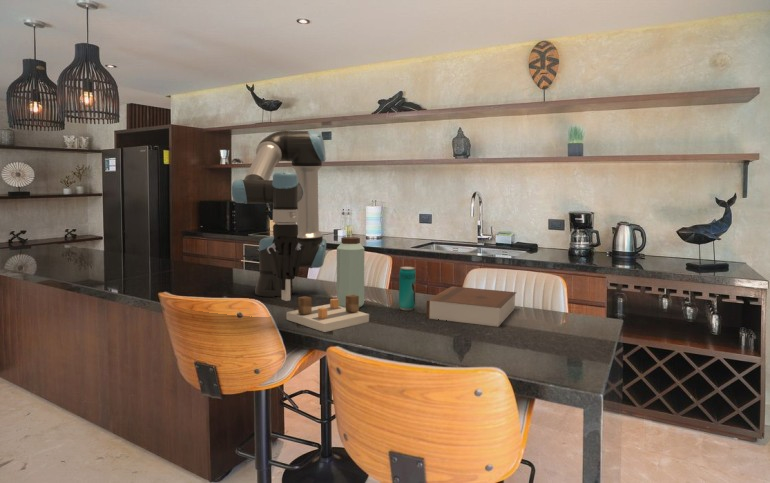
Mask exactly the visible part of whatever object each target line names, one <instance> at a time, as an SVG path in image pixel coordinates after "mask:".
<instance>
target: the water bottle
mask: <svg viewBox="0 0 770 483" xmlns="http://www.w3.org/2000/svg"><path fill="white" fill-rule="evenodd" d="M348 295H357V296H359V308H361V307H363V305H364V304H365V247H364V246H363V245H362V243H361V237H358V236H344V237H341V243H340V244H339V245H338V246H337V247H336V299H339V306H340V307H344V308H346V296H348Z"/></svg>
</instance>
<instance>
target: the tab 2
mask: <svg viewBox="0 0 770 483" xmlns="http://www.w3.org/2000/svg"><path fill="white" fill-rule="evenodd" d="M359 310H360V307H359V296H357V295H348V296H346V311H348V312H357V311H359ZM359 312H360V311H359Z"/></svg>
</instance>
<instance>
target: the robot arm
mask: <svg viewBox="0 0 770 483" xmlns="http://www.w3.org/2000/svg"><path fill="white" fill-rule="evenodd" d="M326 159H327V158H326V148H325V141H324V137H323V135H322V133H320V131H315V130H281V131H279V130H278V131H276V132H273V133H271V134H269V135H267V136H266V137H264V138H263V139H262V140H261V141H259V143H258V145H257V147H256V150H255V157H254V159H253V161H252V163H251V165H250V167H249V169H248V171H247V173H246V175H245V177H244V178H243V179H242V178H241V179H236V180H235V179H234V180H233V182H232V184H231V197H232V199H233V201H234V202H235V203H237V204H272V222H273V223H274V224H273V225H272V236H269V237H268V236H267V237H264V238H262V239H261V240H259V242H258V243H259V245H258V258H259V259H258V262H259V263H258V264H259V276H258V278H257V282H256V285H255V289H254V291H255V295H256V296H260V297H268V298H269V297H270V298H273V297H274V298H275V296H278V297H281V300H282V301H286V302H288V301H291V295H292V293H293V294H294V286H293V280H294V279H295V277H298V276H299V271H300V269H317V268H321V267H322V266H324V262H325V257H326V251H327V239H326V238H323V237H324V236H323V233H322V232H320V228H319V227H320V224H319V221H320V220H319V219H320V218H319V170H320V169H321V168H322V167H323V166H322V163H324V162H326ZM280 162H291V167H292V168H293V170H294V171H295V172H282V171H281V172H274V173H273V171H274V169H275V167H276V165H277V164H279V163H280ZM271 176H272V179H271Z"/></svg>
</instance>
